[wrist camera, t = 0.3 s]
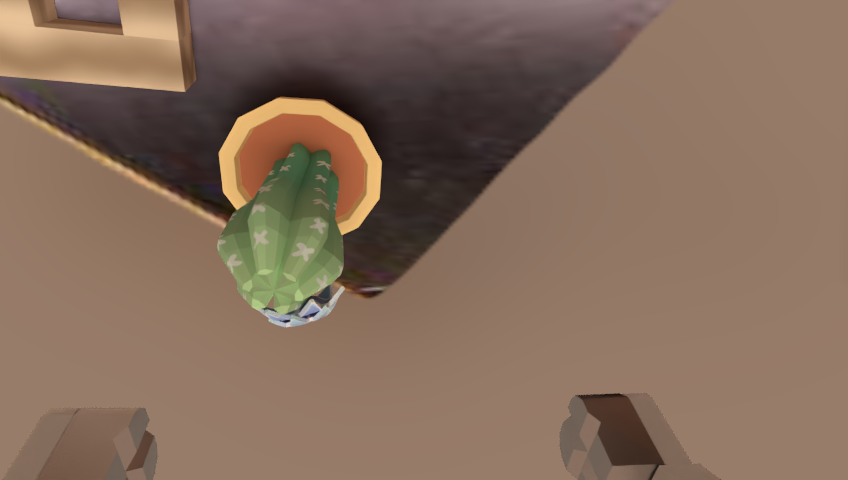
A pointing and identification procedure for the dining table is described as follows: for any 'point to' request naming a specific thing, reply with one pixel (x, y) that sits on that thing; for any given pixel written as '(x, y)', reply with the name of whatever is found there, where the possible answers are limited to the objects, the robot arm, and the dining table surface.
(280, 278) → the potted cactus
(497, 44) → the dining table surface
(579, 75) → the dining table surface
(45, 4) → the organizer block
